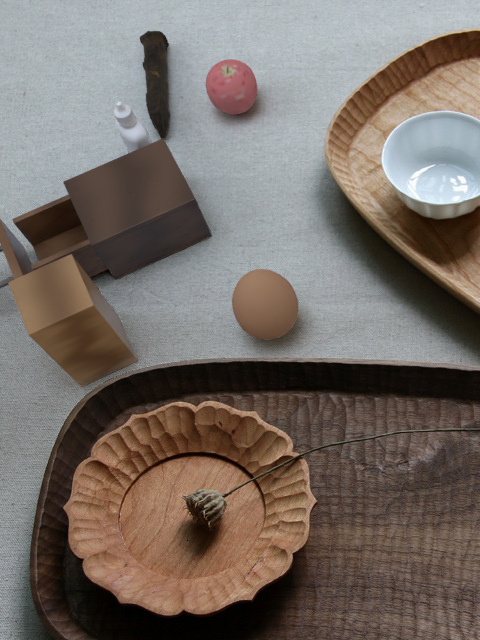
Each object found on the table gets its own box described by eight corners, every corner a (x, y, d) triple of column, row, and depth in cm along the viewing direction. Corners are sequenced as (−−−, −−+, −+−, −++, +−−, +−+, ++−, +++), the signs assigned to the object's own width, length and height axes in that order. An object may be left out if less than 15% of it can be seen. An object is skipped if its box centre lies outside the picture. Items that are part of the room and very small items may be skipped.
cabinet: (116, 280, 112) (91, 245, 104) (88, 219, 117) (62, 181, 109) (212, 236, 115) (195, 198, 107) (181, 177, 119) (163, 137, 111)
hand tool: (146, 50, 129) (135, 27, 124) (171, 47, 129) (161, 23, 124) (146, 145, 121) (135, 123, 117) (172, 142, 121) (162, 120, 117)
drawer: (4, 322, 110) (-22, 297, 103) (-18, 265, 113) (-44, 237, 107) (131, 264, 112) (112, 236, 106) (105, 210, 116) (86, 180, 110)
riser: (81, 387, 106) (28, 335, 92) (62, 339, 109) (7, 282, 95) (138, 360, 107) (93, 304, 94) (117, 314, 110) (71, 253, 96)
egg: (232, 316, 109) (210, 271, 99) (286, 287, 111) (270, 241, 100) (259, 363, 106) (240, 322, 96) (315, 333, 108) (302, 290, 97)
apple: (264, 86, 125) (253, 45, 117) (260, 124, 122) (248, 85, 114) (217, 87, 125) (203, 46, 118) (211, 125, 122) (196, 85, 115)
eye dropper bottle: (161, 144, 121) (133, 85, 110) (164, 174, 119) (136, 116, 108) (132, 150, 121) (101, 90, 110) (134, 179, 119) (103, 122, 108)
